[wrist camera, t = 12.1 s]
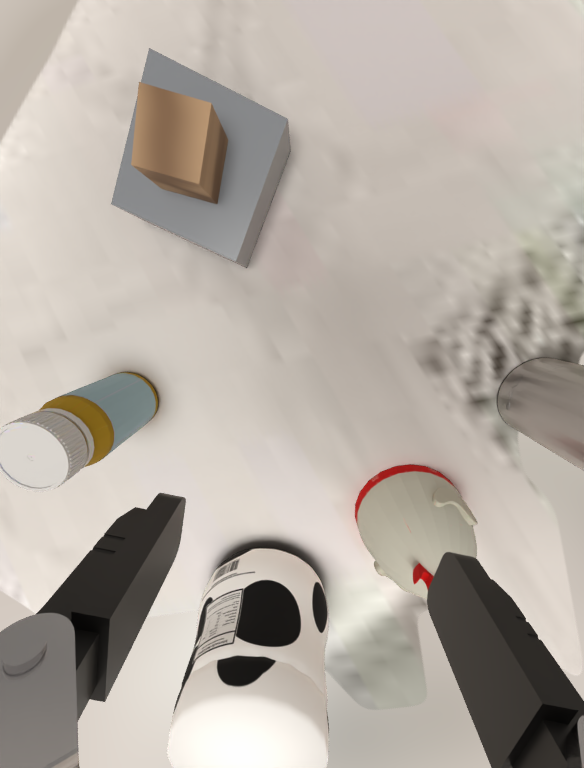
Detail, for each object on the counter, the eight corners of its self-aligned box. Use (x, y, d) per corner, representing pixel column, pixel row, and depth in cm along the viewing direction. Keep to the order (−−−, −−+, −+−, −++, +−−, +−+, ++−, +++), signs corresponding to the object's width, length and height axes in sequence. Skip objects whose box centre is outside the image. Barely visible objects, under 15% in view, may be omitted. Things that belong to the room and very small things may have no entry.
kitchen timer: (415, 566, 44) (471, 697, 29) (335, 523, 42) (353, 639, 28) (480, 495, 40) (578, 604, 26) (395, 446, 39) (450, 532, 24)
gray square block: (290, 152, 31) (287, 118, 25) (247, 268, 34) (235, 261, 28) (178, 96, 30) (149, 48, 24) (144, 220, 33) (111, 203, 27)
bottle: (169, 388, 38) (86, 443, 23) (147, 433, 39) (58, 510, 25) (116, 360, 37) (-2, 400, 23) (97, 407, 39) (-25, 471, 24)
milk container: (305, 638, 48) (306, 828, 31) (199, 610, 47) (139, 789, 30) (342, 554, 44) (368, 722, 26) (225, 521, 43) (174, 672, 25)
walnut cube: (228, 139, 26) (211, 102, 21) (217, 204, 27) (199, 184, 22) (169, 123, 25) (139, 82, 21) (161, 189, 27) (131, 164, 22)
